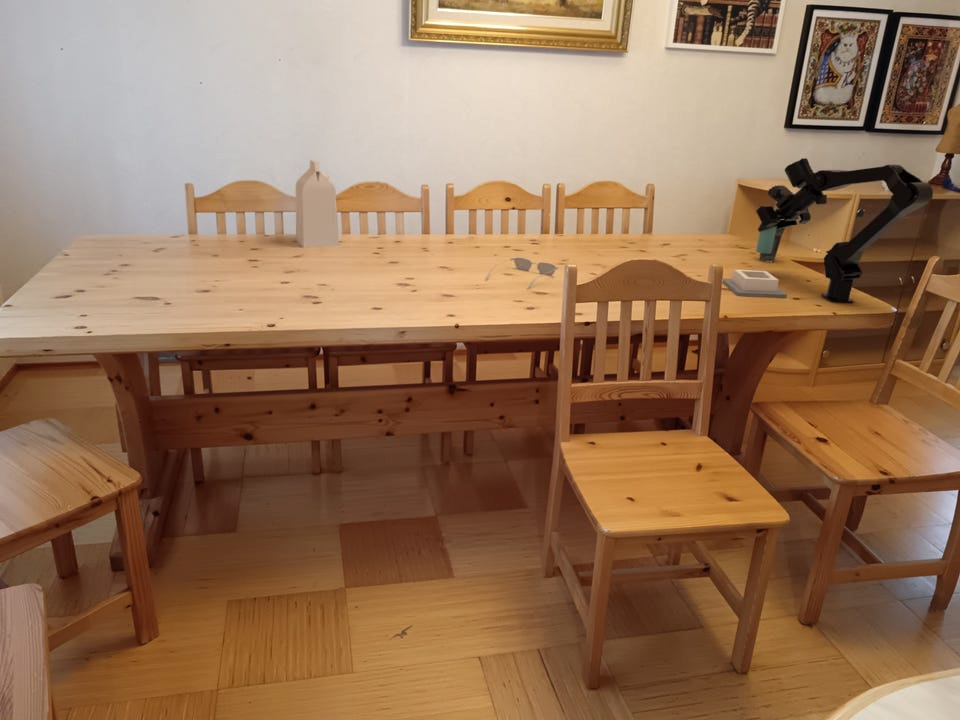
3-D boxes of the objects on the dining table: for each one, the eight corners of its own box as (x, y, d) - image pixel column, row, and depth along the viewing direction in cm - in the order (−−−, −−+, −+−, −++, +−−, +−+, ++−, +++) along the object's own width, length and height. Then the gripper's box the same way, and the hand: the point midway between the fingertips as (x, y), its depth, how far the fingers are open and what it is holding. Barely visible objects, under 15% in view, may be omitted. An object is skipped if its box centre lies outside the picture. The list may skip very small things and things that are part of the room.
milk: (296, 239, 237) (291, 158, 227) (330, 237, 241) (327, 158, 231) (303, 247, 227) (299, 163, 217) (339, 245, 231) (337, 163, 221)
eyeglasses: (557, 278, 210) (559, 265, 209) (529, 292, 196) (531, 278, 194) (512, 268, 217) (512, 256, 216) (481, 281, 203) (482, 268, 201)
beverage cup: (764, 263, 237) (776, 203, 229) (750, 257, 243) (762, 199, 236) (782, 263, 239) (795, 203, 231) (769, 257, 245) (781, 199, 238)
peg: (773, 254, 220) (782, 212, 215) (759, 253, 220) (767, 211, 215) (767, 250, 225) (776, 209, 220) (753, 249, 224) (762, 208, 219)
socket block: (786, 298, 201) (789, 282, 199) (737, 295, 201) (740, 280, 199) (767, 283, 214) (770, 269, 212) (721, 281, 214) (724, 267, 212)
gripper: (811, 176, 215) (774, 206, 228) (767, 178, 206) (732, 209, 219) (827, 208, 211) (789, 236, 224) (784, 211, 203) (746, 240, 216)
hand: (764, 230), depth 221 cm, fingers closed on peg, 4 cm apart
